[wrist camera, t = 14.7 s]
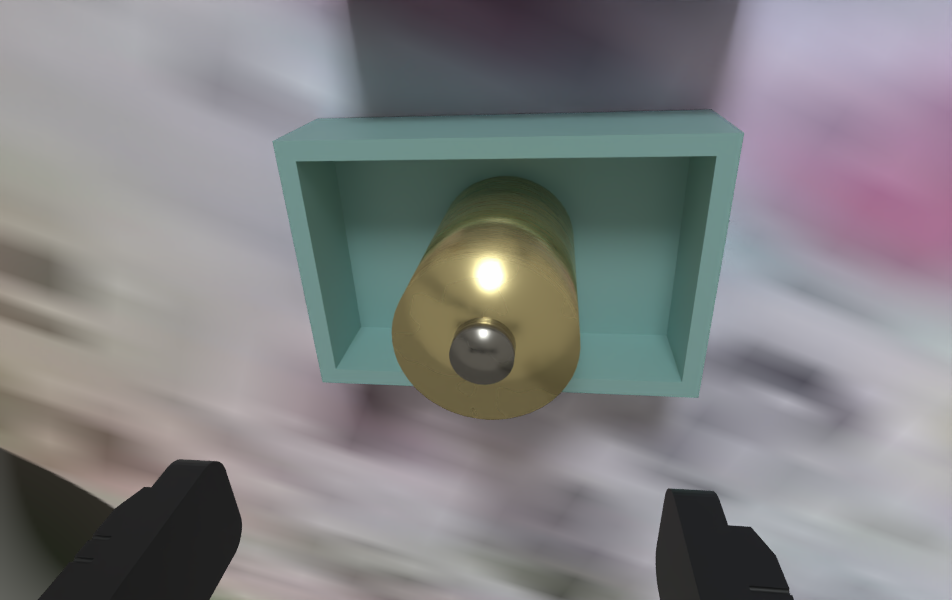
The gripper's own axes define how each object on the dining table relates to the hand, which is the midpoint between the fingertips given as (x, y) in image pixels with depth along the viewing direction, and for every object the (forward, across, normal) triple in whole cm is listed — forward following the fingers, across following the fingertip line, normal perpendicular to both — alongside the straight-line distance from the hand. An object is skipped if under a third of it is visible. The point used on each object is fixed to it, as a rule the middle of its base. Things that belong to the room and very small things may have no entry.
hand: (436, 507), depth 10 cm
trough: (+12, 0, 0) cm, 13 cm away
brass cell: (+12, 0, 0) cm, 12 cm away
